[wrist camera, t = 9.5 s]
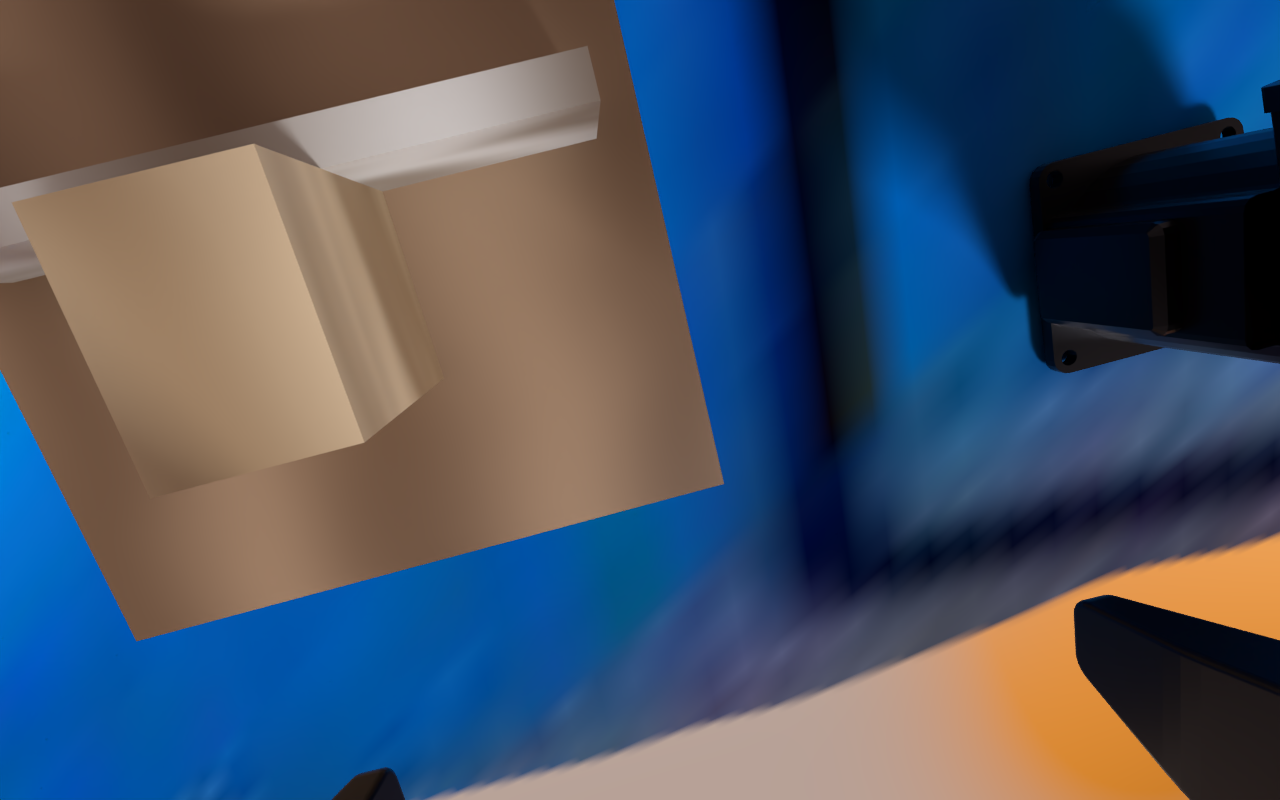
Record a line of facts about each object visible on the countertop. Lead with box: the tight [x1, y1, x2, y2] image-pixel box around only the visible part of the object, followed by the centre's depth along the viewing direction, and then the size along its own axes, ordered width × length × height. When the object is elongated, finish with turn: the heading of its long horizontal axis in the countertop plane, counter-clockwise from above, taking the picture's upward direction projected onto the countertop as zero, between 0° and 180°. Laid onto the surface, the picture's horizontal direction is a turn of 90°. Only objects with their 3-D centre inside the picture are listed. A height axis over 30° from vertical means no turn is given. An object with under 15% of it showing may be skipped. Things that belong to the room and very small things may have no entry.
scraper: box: [0, 46, 601, 498], centre depth 10 cm, size 12×5×5 cm, turn 104°
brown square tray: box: [0, 0, 724, 641], centre depth 15 cm, size 14×14×5 cm
